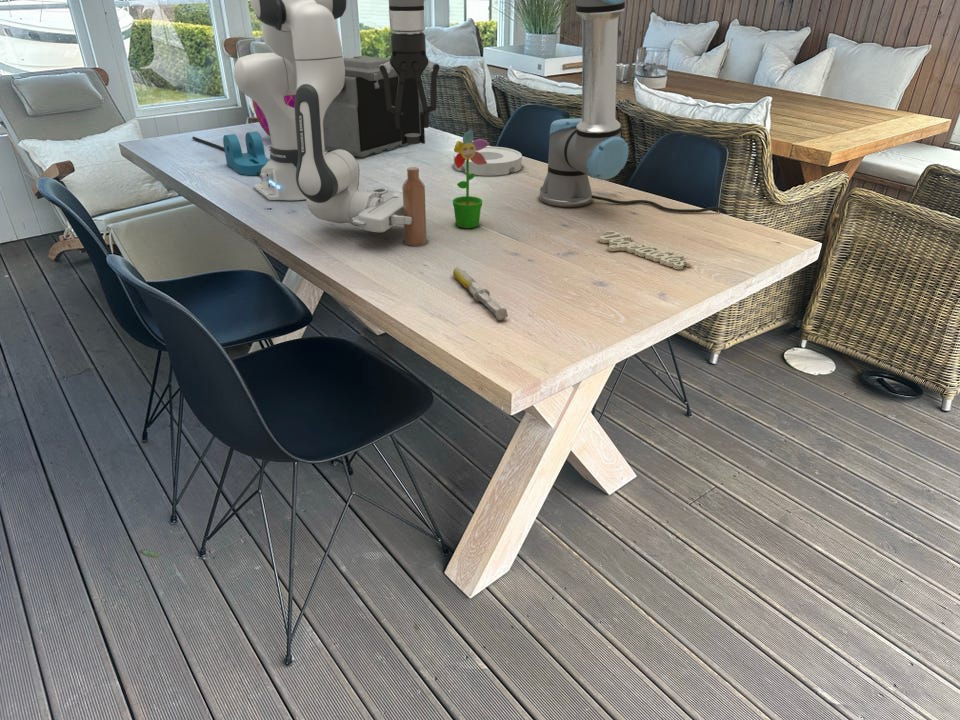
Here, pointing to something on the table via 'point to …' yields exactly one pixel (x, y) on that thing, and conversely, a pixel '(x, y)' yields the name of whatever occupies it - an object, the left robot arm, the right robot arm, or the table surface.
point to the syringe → (479, 293)
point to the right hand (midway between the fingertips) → (413, 142)
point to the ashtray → (494, 162)
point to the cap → (412, 138)
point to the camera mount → (245, 161)
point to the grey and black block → (369, 110)
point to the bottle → (414, 208)
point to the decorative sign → (643, 250)
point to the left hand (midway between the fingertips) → (418, 216)
